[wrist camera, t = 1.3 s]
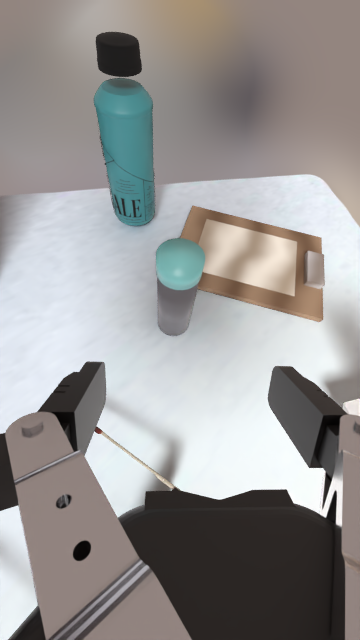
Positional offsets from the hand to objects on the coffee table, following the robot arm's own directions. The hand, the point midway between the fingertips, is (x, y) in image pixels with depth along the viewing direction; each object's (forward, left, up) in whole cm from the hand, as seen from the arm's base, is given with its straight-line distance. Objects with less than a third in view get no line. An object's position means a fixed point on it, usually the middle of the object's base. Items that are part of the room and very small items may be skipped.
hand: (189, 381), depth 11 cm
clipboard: (+5, +25, -16) cm, 30 cm away
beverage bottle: (-14, +27, -16) cm, 35 cm away
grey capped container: (-3, +11, -16) cm, 20 cm away
